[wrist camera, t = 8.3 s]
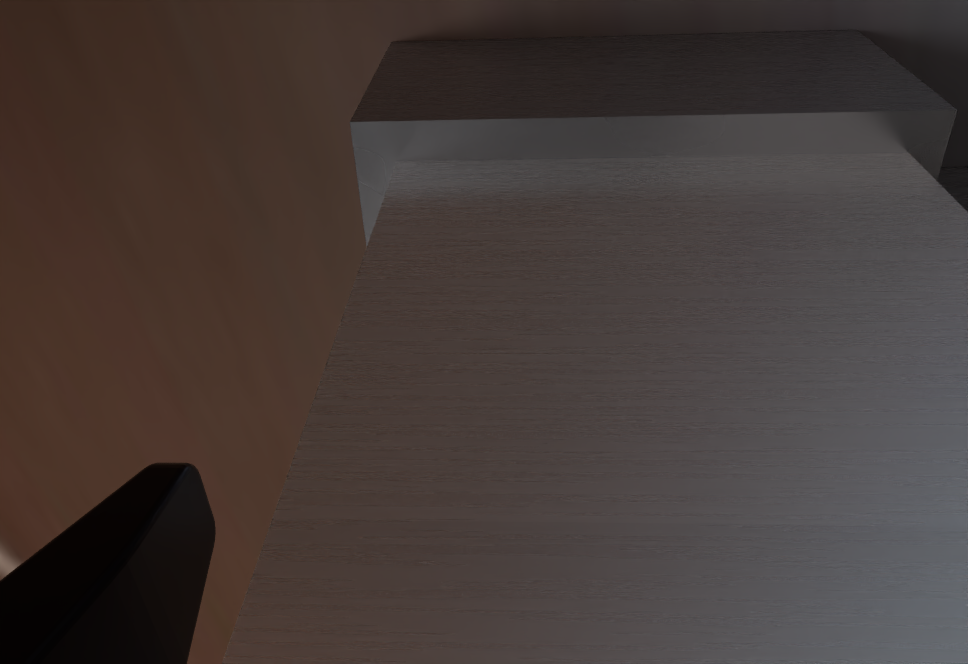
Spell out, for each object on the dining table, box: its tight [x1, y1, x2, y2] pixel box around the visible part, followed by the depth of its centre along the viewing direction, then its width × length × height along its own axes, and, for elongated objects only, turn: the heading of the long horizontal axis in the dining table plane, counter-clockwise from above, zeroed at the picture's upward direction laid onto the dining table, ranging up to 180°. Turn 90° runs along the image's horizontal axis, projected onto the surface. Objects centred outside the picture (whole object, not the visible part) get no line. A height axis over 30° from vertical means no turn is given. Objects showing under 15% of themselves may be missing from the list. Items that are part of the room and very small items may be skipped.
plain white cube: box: [222, 153, 968, 664], centre depth 7 cm, size 5×5×6 cm
